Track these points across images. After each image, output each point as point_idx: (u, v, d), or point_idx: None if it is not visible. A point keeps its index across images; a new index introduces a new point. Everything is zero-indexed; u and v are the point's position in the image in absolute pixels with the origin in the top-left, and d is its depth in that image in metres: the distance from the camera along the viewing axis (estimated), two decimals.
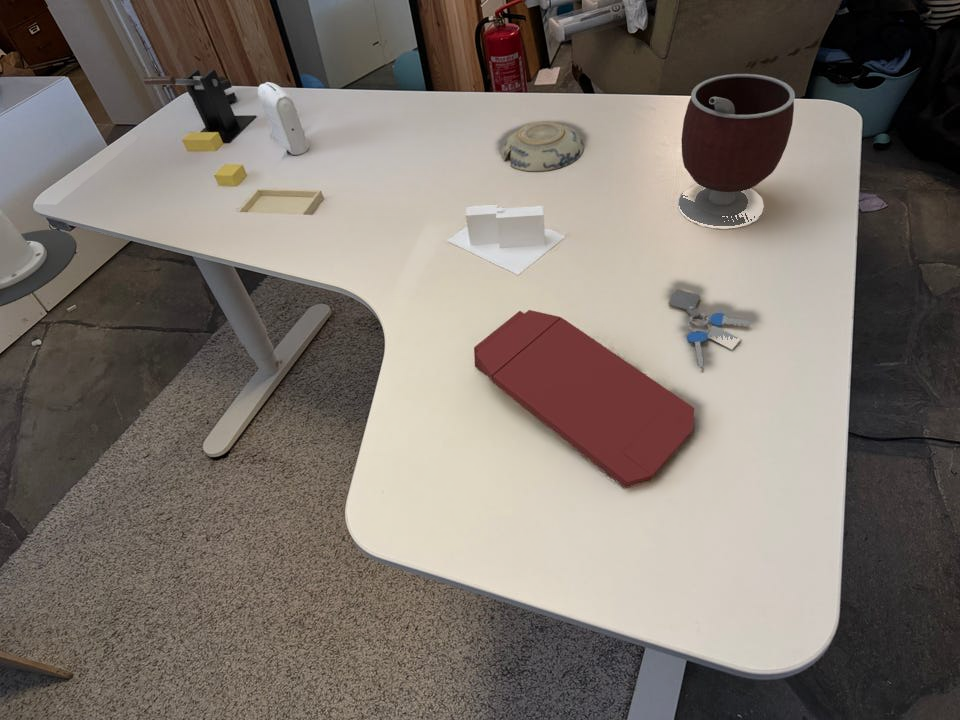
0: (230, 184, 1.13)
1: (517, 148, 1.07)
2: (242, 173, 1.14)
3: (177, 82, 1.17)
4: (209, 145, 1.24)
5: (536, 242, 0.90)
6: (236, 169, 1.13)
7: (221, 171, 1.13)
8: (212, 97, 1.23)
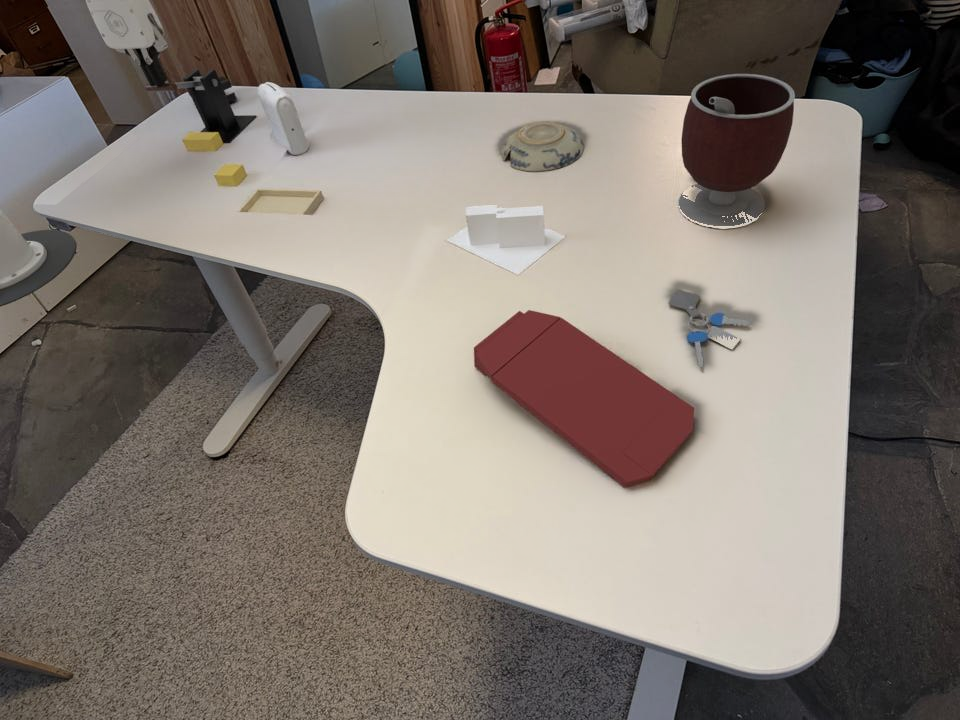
0: (230, 184, 1.13)
1: (517, 148, 1.07)
2: (242, 173, 1.14)
3: (178, 87, 1.17)
4: (209, 145, 1.24)
5: (536, 242, 0.90)
6: (236, 169, 1.13)
7: (221, 171, 1.13)
8: (212, 97, 1.23)
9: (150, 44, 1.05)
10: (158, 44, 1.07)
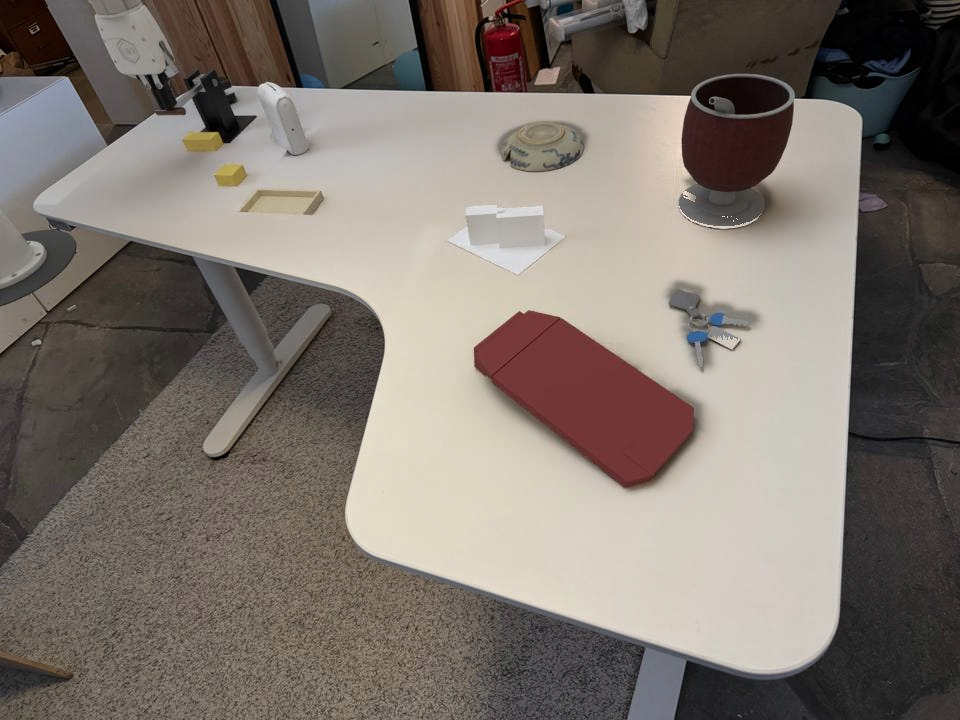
0: (230, 184, 1.13)
1: (517, 148, 1.07)
2: (242, 173, 1.14)
3: (184, 102, 1.19)
4: (209, 145, 1.24)
5: (536, 242, 0.90)
6: (236, 169, 1.13)
7: (221, 171, 1.13)
8: (212, 97, 1.23)
9: (161, 70, 1.08)
10: (169, 70, 1.09)
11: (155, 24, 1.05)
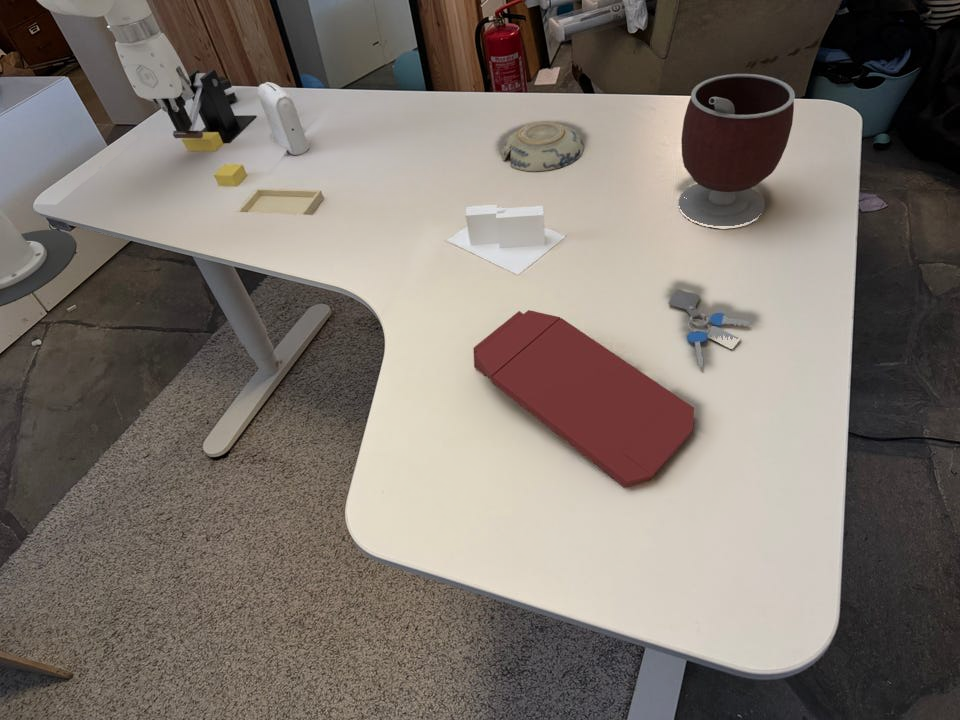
0: (230, 184, 1.13)
1: (517, 148, 1.07)
2: (242, 173, 1.14)
3: (196, 118, 1.22)
4: (209, 145, 1.24)
5: (536, 242, 0.90)
6: (236, 169, 1.13)
7: (221, 171, 1.13)
8: (212, 97, 1.23)
9: (178, 95, 1.12)
10: (185, 94, 1.14)
11: (173, 51, 1.10)
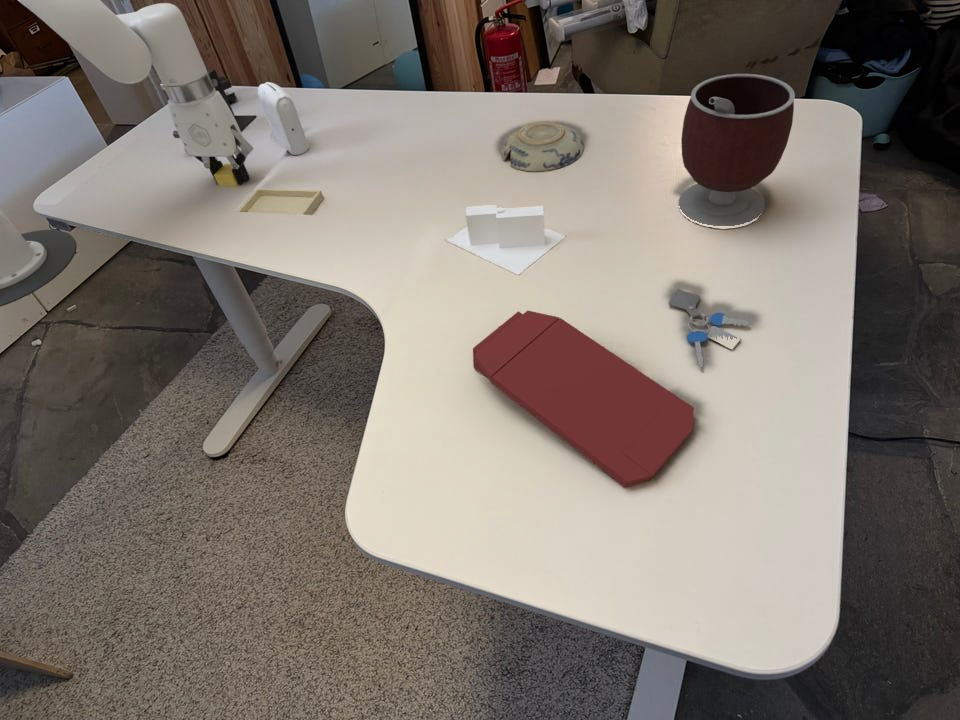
0: (230, 184, 1.13)
1: (517, 148, 1.07)
2: None
3: None
4: None
5: (536, 242, 0.90)
6: None
7: (221, 171, 1.13)
8: None
9: (231, 154, 1.07)
10: (244, 149, 1.08)
11: (227, 109, 1.05)
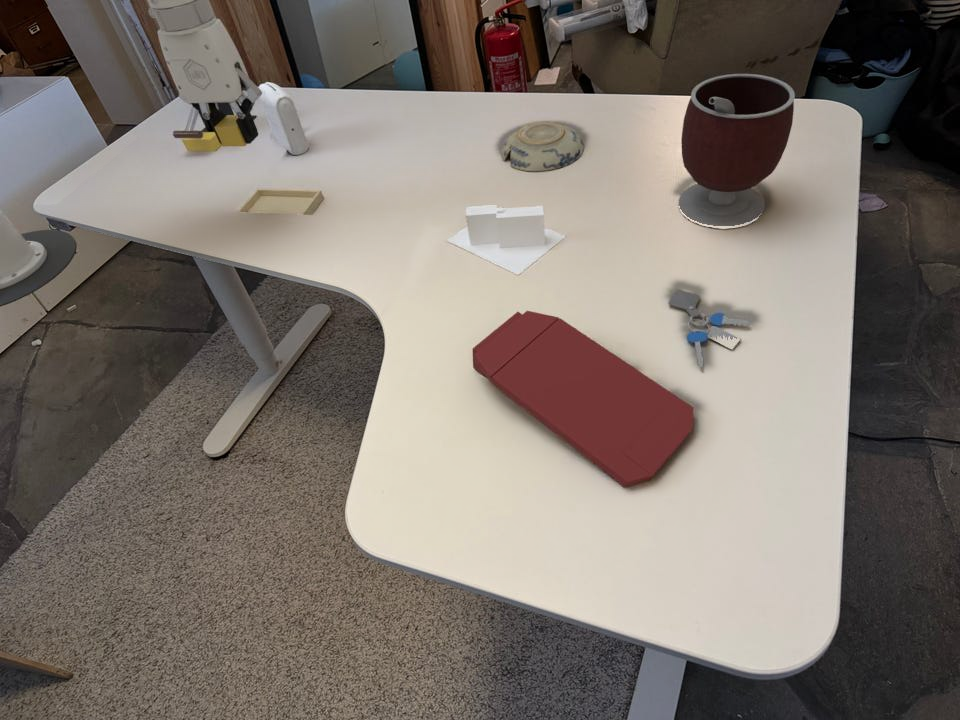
0: (234, 138, 0.94)
1: (517, 148, 1.07)
2: None
3: (196, 118, 1.22)
4: (209, 145, 1.24)
5: (536, 242, 0.90)
6: None
7: (224, 123, 0.94)
8: None
9: (236, 98, 0.88)
10: (251, 93, 0.89)
11: (231, 42, 0.86)
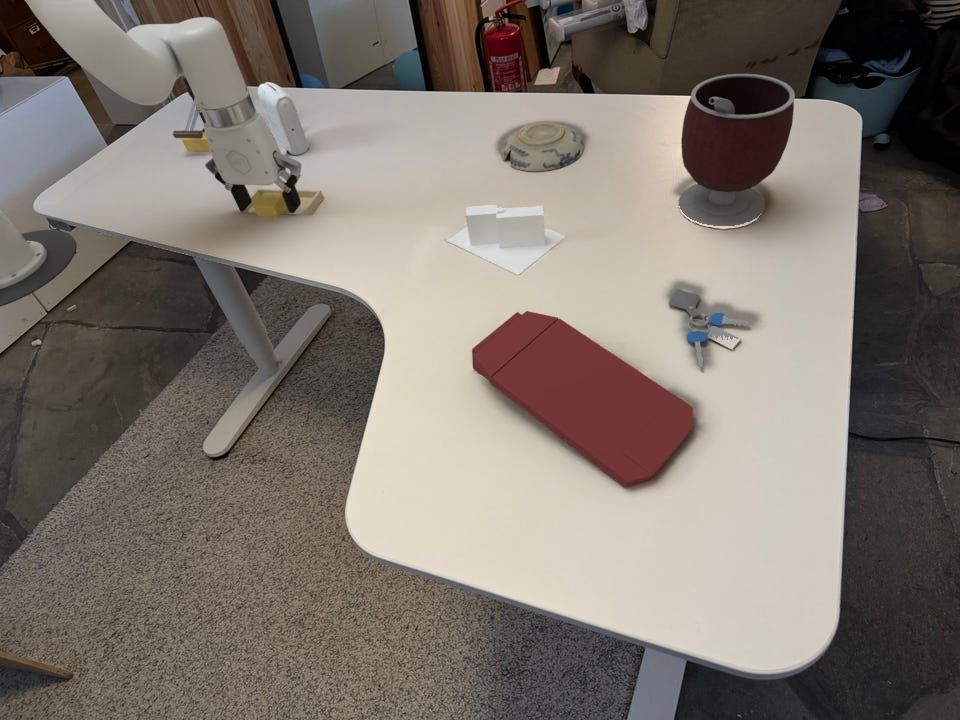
0: (271, 215, 1.03)
1: (517, 148, 1.07)
2: (283, 203, 1.04)
3: (196, 118, 1.22)
4: None
5: (536, 242, 0.90)
6: (277, 199, 1.03)
7: (261, 201, 1.03)
8: None
9: (273, 182, 0.97)
10: (291, 168, 0.96)
11: (270, 133, 0.94)
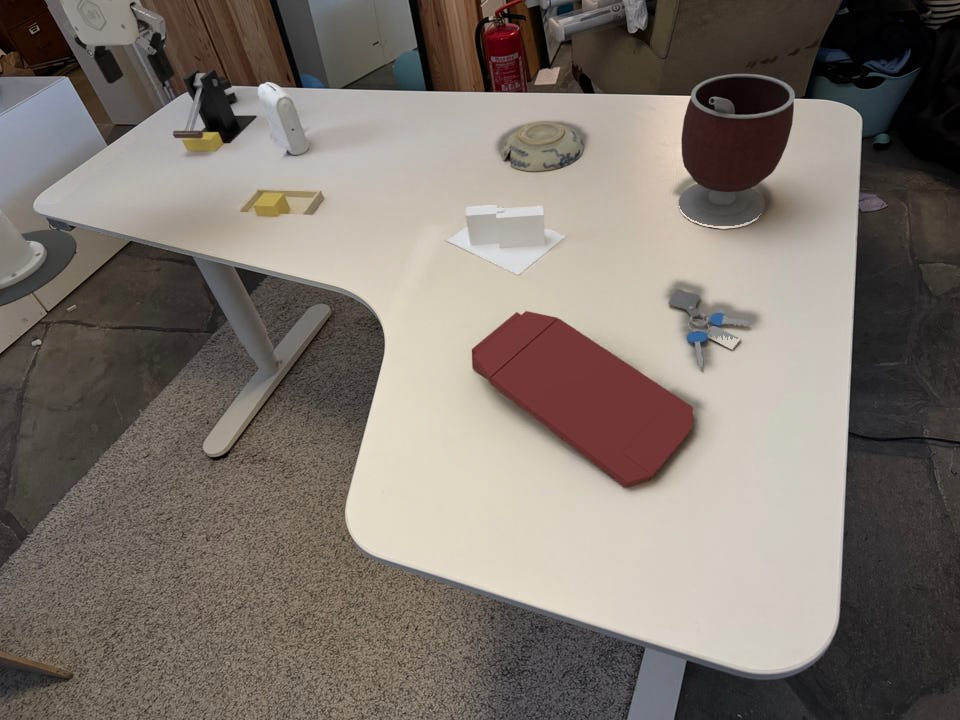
0: (271, 215, 1.03)
1: (517, 148, 1.07)
2: (283, 203, 1.04)
3: (196, 118, 1.22)
4: (209, 145, 1.24)
5: (536, 242, 0.90)
6: (277, 199, 1.03)
7: (261, 201, 1.03)
8: (212, 97, 1.23)
9: (133, 40, 0.86)
10: (153, 22, 0.86)
11: None
